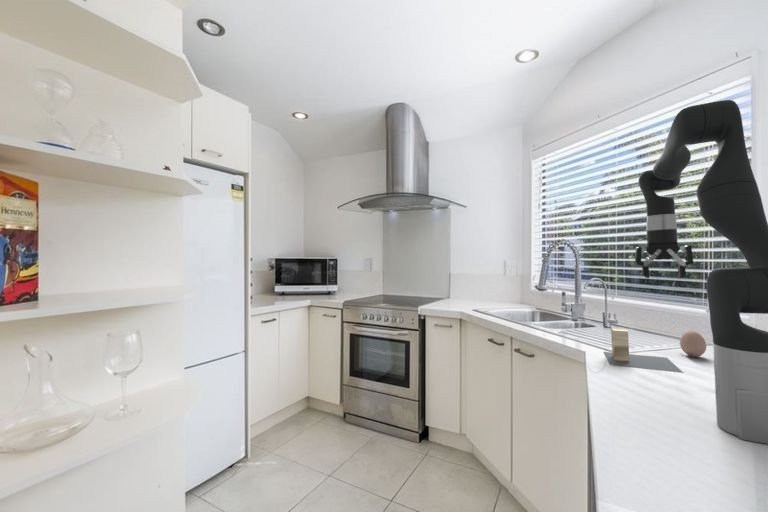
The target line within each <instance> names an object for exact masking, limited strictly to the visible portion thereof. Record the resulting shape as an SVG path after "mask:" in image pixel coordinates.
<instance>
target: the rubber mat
mask: <svg viewBox="0 0 768 512" xmlns="http://www.w3.org/2000/svg"><path fill="white" fill-rule="evenodd" d="M603 354H604V356H605V358H606V360H607V362H608V364H609V365H610V366H616V367H624V368H633V369H634V368H636V369H644V370H653V371H654V370H655V371H660V372H661V371H662V372H663V371H664V372H670V373H671V372H673V373H682V374H683V373H684V372H683V371H682V370H681V369H680V368H679V367H678V366H677V365H676V364H675V363H674V362H673V361H671V360H670V359H669V358H668V357H664V356H653V355H642V354H641V355H640V354H632V353H629V362H623V361H615V360H614V359H613V357H612V351H610V352H609V351H603Z"/></svg>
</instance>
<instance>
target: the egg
mask: <svg viewBox="0 0 768 512" xmlns="http://www.w3.org/2000/svg"><path fill="white" fill-rule="evenodd" d="M679 345H680V348H681V350H682V352H683V353H685V354H686V355H687V356H689V357H693V358H696V357H701V356H703V355H704V354H705V353H706V351H707V343H706V340H705V338H704V337H703V335H702V334H701V333H700V332H698V331H696V330H691V329H690V330H686V331H685V332H684V333H683V334H682V335H681V337H680V340H679Z"/></svg>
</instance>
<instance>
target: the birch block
mask: <svg viewBox="0 0 768 512" xmlns="http://www.w3.org/2000/svg"><path fill="white" fill-rule="evenodd" d="M610 335H611V352H612V357H613V359H614V360H615V361H623V362H629V354H630V344H629V330H627V329H626V328H623V327H611V328H610Z"/></svg>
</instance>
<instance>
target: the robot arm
mask: <svg viewBox="0 0 768 512" xmlns="http://www.w3.org/2000/svg"><path fill="white" fill-rule="evenodd" d="M709 142H710V143H712V142H715V143H716V145H717V150H718V152H717V156H716V158H715V160H714V161H713V163H712V164H711V166H710V167H709V168H708V170H707V171H706V172H705V174H704V175H703V177H702V179H701V180H700V182H699V184H698V186H697V188H696V197H697V201H698V206H699V211H700V212H699V213H700V214H701V217H702V218H703V220H704V221H705V222H706V223H707V224H708V225H709V226H710V227H712V228H713V229H714V231H716V232H718V233H719V234H720V235H721V236H723V237H724V238H725V239H727V240H728V241H730V242H731V244H733V245H734V246H735V247H736V248H737V249H738V250H739V251H740V252H741V254H742V255H743V257H744V259H745V261H746V262H747V265H748V267H721V268H719V267H718V268H714V269H712V270H711V271H710V272H709V274H708V276H707V279H706V294H707V304H708V310H709V318H710V319H709V320H710V321H709V324H710V328H711V333H712V334H711V335H712V345H713V346H712V347H713V348H712V349H713V365H714V366H713V367H714V368H713V369H714V389H715V392H714V393H715V407H716V409H715V411H716V425H717V426H718V427H719V428H720V429H722V430H723V431H724V432H727V433H728V434H732V435H733V436H736V437H737V438H739V440H744V441H749V442H755V443H762V444H767V445H768V331H766V330H762V329H758V328H755V327H753V326H750V325H748V324H746V323H745V322H743V320H742V318H741V315H740V314H763V315H765V314H766V315H767V314H768V220H767V216H766V213H765V209H764V204H763V201H762V197H761V193H760V190H759V187H758V183H757V180H756V178H755V176H754V171H753V169H752V166H751V162H750V159H749V156H748V151H747V147H746V146H747V145H746V141H745V134H744V127H743V119H742V113H741V110H740V107H739V105H738V104H737V102H736V101H734V100H733V99H732V100H731V99H724V100H717V101H712V102H706V103H701V104H695V105H691V106H687V107H684V108H682V109H681V110H680V111H679V112H678V113H677V114H676V115H675V117H674V119H673V121H672V124H671V127H670V129H669V132H668V135H667V137H666V141H665V143H664V147H663V151H662V153H661V154H660V156H659V157H658V159H657V161H656V162H655V164H654V166H653V167H652V169H651V170H646V171H643V172H642V173H641V174H640V175H639V177H638V186H639V189H640V191H641V193H642V196H643V199H644V201H645V205H646V227H645V228H646V239H647V240H646V244H647V245H646V247H636V248H635V254H634V255H635V257H634V258H635V259H634V263H635V265H636V266H641V269H642V276H643V277H645V279H649V278H650V268H649V265H650V264H651V263H652V262H653V261H655V260H656V261H657V260H658V261H659V260H673V261H674V262H675V263H676V264H677V265H678V266H677V276H678V277H677V278H679V279H684V277H685V276H686V275H687V274H686V266H688V265H692V264H694V256H693V250H692V249H693V248H692V245H683V246H680V245H679V244H678V229H677V228H678V227H677V225H678V224H677V218H676V209H675V207H676V206H675V199H674V198H673V197H671V196H663V195H662V196H661V195H659V194H657V193H656V192H657V191H658V192H659V191H670V190H673V189H676V188H677V187H679V185H680V183H681V178H682V177H681V175H682V172H684V170H685V169H686V167H688V165H689V164H690V162H691V158H692V156H691V155H692V153H691V152H690V149H689V148H688V147H687V146H688V145H689V146H690V145H691V146H692V145H697V144H705V143H709ZM686 145H687V146H686ZM679 251H681V253H683V254H684V259H685V261H684V260H682V258H681V257H680V256H679V255H678V252H679ZM645 252H646V253H647V254H648V256H647V257H646V259H645V260H644V261H642V255H644V253H645Z"/></svg>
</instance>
